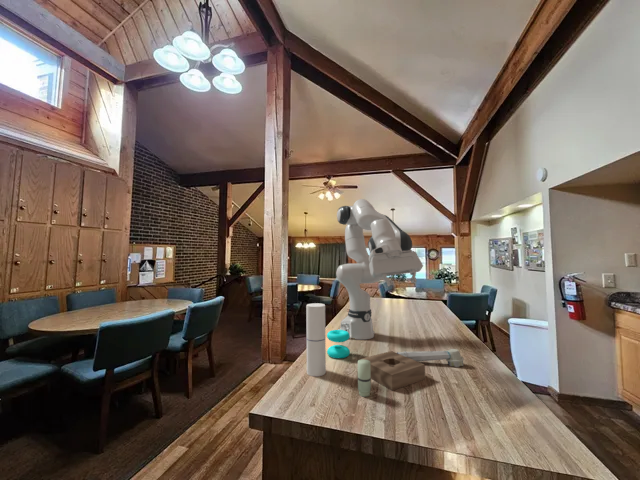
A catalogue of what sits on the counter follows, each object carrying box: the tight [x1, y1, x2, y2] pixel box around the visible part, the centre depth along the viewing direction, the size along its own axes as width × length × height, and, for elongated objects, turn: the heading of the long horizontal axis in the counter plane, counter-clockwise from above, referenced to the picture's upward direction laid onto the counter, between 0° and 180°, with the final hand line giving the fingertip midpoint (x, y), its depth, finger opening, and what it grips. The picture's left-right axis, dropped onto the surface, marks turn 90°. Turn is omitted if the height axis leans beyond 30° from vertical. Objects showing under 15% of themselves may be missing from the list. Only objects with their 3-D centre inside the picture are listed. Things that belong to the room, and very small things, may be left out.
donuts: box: [326, 329, 351, 359], centre depth 121 cm, size 10×10×10 cm
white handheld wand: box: [396, 348, 465, 368], centre depth 111 cm, size 5×7×25 cm
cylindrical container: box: [305, 302, 327, 377], centre depth 104 cm, size 7×7×25 cm
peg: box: [357, 359, 372, 398], centre depth 87 cm, size 4×4×10 cm
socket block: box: [359, 350, 426, 391], centre depth 100 cm, size 16×16×5 cm
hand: (402, 283), depth 102 cm, fingers open, 8 cm apart
